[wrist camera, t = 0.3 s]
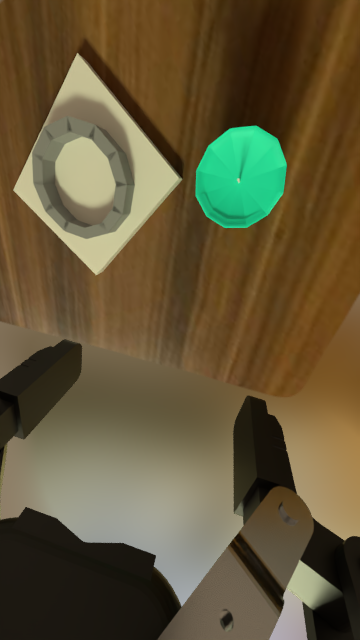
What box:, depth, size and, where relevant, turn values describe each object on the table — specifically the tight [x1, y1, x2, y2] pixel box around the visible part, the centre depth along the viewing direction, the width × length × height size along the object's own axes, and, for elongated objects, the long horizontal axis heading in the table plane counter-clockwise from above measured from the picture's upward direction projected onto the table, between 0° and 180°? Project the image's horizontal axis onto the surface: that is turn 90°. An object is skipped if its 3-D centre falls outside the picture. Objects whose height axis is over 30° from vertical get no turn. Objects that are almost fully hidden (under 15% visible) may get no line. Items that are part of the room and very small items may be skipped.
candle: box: [196, 126, 287, 228], centre depth 20 cm, size 6×6×12 cm
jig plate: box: [14, 53, 182, 275], centre depth 27 cm, size 16×14×4 cm
